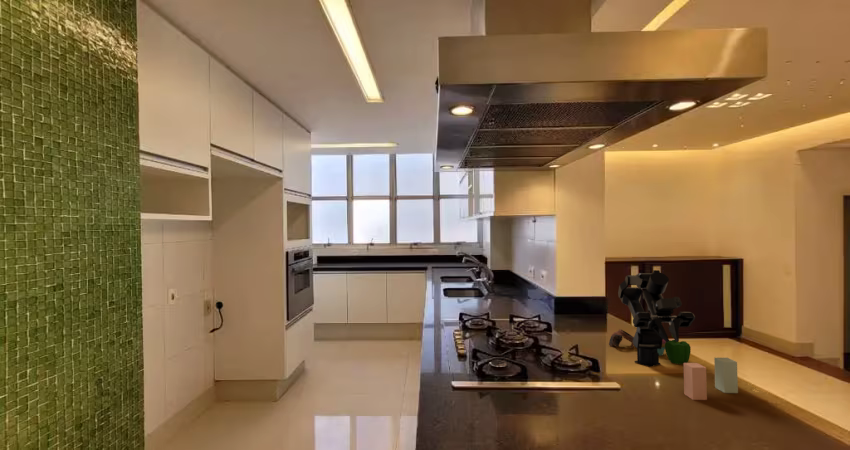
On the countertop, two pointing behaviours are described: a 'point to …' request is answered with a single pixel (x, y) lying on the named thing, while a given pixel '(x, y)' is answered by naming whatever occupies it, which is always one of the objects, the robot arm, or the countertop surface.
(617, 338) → the headphones
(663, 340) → the cupcake
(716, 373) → the sage block
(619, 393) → the countertop surface
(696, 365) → the terracotta block
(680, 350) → the bell pepper
